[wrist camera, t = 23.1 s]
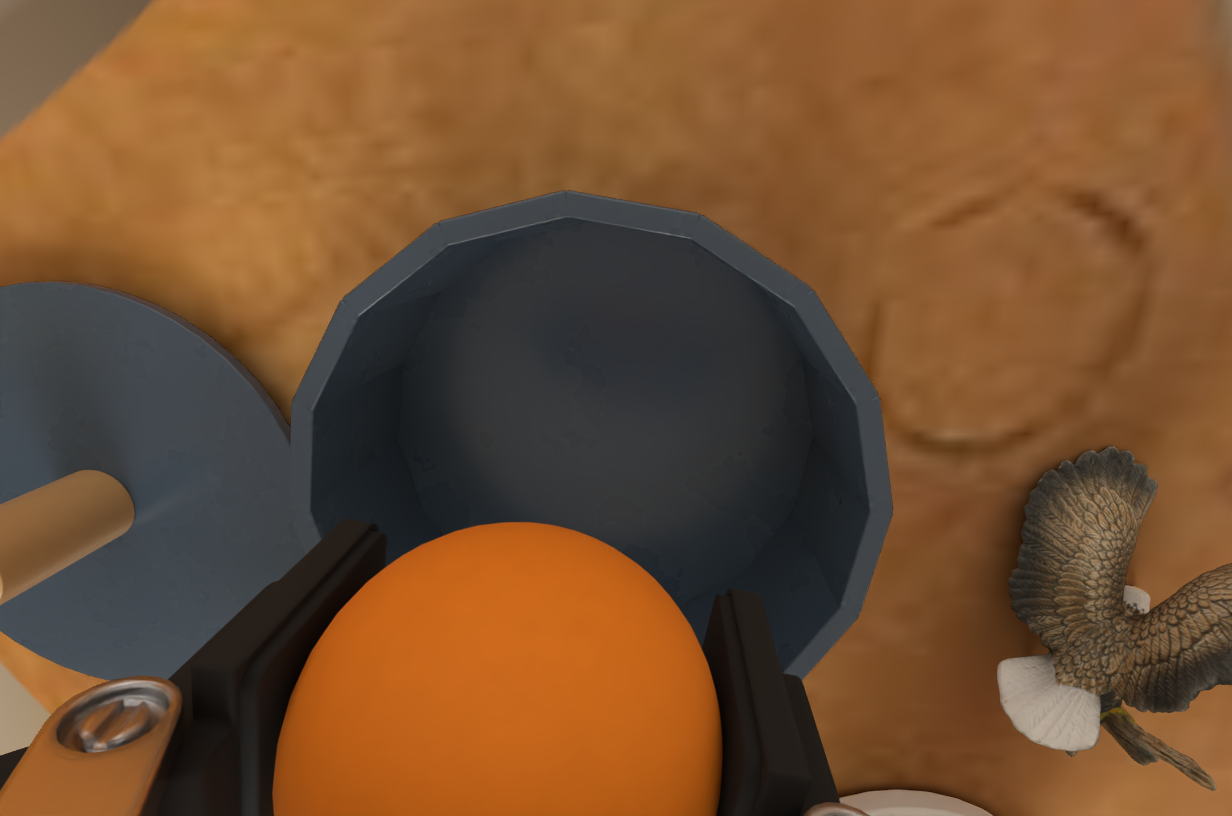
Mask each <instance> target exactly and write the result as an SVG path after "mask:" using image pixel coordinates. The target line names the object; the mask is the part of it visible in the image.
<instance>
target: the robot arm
mask: <svg viewBox="0 0 1232 816" xmlns="http://www.w3.org/2000/svg"><path fill="white" fill-rule="evenodd" d="M386 547H387V537H386V534H385V533H380V532H379V529H378V526H377V524H375V523H370V522H364V521H358V520H353V519H343V520H342V521H341V522H339V523H338V524H337V525H336V526H335V527H334V528H333V529H332V530H331V531H330V532H329V533H328V534H327V535H326V536H325V537H324V538H323V539H322V540H321V541H320V542H319V543H318V544H317V545H316V546H314V547H313V548H312V549H311V550H310V551H309V552H308V553H307V554H306V555H305V556H304V557H303V558H302V559H301V560H300V561H299V562H298V563H297V564H296V565H295V566H294V567H293V568H292V569H291V570H289V571H288V572H287V573H286V574H285V575H284V576H283V577H282V578H281V579H280V580H279V581H275V582H272V583H270V584H269V585H268V586H266V587H265V588H264V589H263V590H262V591H261V592H260V593H259V594H258V595H257V596H256V597H255V598H253V599H252V600H251V601H250V602H249V603H248V604H247V605H246V606H245V607H244V608H243V609H242V610H241V611H240V612H239V613H238V614H236V615H235V616H234V617H233V618H232V619H231V620H230V621H229V622H228V623H227V624H226V625H225V626H224V627H223V628H222V629H221V630H220V631H218V632H217V633H216V634H215V635H214V636H213V637H212V638H211V639H210V640H209V641H208V642H207V643H206V644H205V645H204V646H203V647H202V648H200V649H199V650H198V651H197V652H196V653H195V654H194V655H193V656H192V657H191V658H190V659H189V660H188V661H187V662H186V663H185V664H183V665H182V666H181V667H180V668H179V669H178V670H177V671H176V672H175V673H174V674H173V675H172V676H171V677H170V678H169V679H168V680H166V679H163V678H159V677H156V676H132V677H126V678H120V679H115V680H112V681H109V682H105V683H102V684H99V685H96V686H94V687H92V688H90V689H88V690H85V691H83V692H81V693H79V694H77V695H75V696H74V697H72V698H71V699H70V700H68V701H67V702H65V703H64V704H63V705H61V706H60V707H59V708H57V709H56V710H55V712H54V713H53V714H52V715H51V716H50V717H49V718H48V719H47V721H46V722H45V723H44V725H43V726H42V728H41V729H40V731H39V732H38V734H37V735H36V737H35V738H34V740H33V741H32V743H31V744H30V746H29V747H25V748H22V749H19V750H16V751H13V752H10V753H7V754H4V755H1V756H0V816H274V809H273V795H272V792H273V781H274V770H275V761H276V751H277V743H278V739H279V736H280V732H281V728H282V724H283V721H284V717H285V714H286V710H287V706H288V703H289V699H290V696H291V694H292V692H293V689H294V687H295V685H296V683H297V681H298V679H299V676H300V674H301V672H302V670H303V668H304V666H305V663H306V661H307V659H308V657H309V655H310V653H311V651H312V650H313V648H314V647H315V645H316V644H317V642H318V641H319V639H320V638H321V636H322V635H323V633H324V632H325V630H326V629H327V627H328V626H329V624H330V623H331V622H332V620H333V619H334V617H335V616H336V614H337V613H338V612H339V611H340V610H341V609H342V608H343V607H344V606H345V605H346V603H347V602H348V601H349V600H350V599H351V598H352V597H353V596H354V595H355V594H356V593H357V592H358V591H359V590H360V589H361V588H362V587H363V586H364V585H365V584H366V583H367V582H368V581H369V580H370V579H371V578H373V577H374V576H375V575H376V574H378V573H379V572H380V571H382V570H383V569H384V568H385V562H386ZM702 651H703V653H704V656H705V658H706V660H707V662H708V666H709V669H710V672H711V675H712V679H713V682H714V685H715V690H716V695H717V699H718V704H719V710H720V717H721V724H722V738H723V767H722V781H721V791H720V799H719V804H718V809H717V815H716V816H993V815H992V814H990V813H988V812H987V811H985V810H984V809H982V808H979V807H977V806H974V805H972V804H970V803H967V802H965V801H962V800H960V799H957V798H953V797H949V796H944V795H940V794H936V793H931V792H925V791H912V790H899V789H896V790H882V791H868V792H864V793H859V794H855V795H850V796H846V797H841V798H839V796H838V793H837V790H836V787H835V784H834V780H833V777H832V774H831V771H830V768H829V765H828V761H827V758H826V755H825V752H824V749H823V746H822V742H821V739H820V736H819V733H818V730H817V727H816V723H815V720H814V717H813V714H812V711H811V708H810V704H809V701H808V698H807V695H806V692H805V689H804V685H803V683H802V681H801V679H800V678H799V677H798V676H796V675H790V674H785V673H782V670H781V666H780V663H779V659H778V656H777V652H776V648H775V645H774V641H773V638H772V634H771V630H770V627H769V623H768V620H767V616H766V612H765V609H764V605H763V602H762V598H761V595H760V594H759V593H754V592H749V591H743V590H738V589H732V588H729V589H728V590H727V592H726V595H721V594H717V595H716V596H715V599H714V602H713V606H712V610H711V614H710V618H709V622H708V626H707V630H706V634H705V638H704V642H703V646H702Z"/></svg>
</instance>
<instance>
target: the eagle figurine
mask: <svg viewBox="0 0 1232 816" xmlns="http://www.w3.org/2000/svg"><path fill="white" fill-rule="evenodd" d="M1157 488H1158V484H1157V482H1156V481H1155V480H1154V479H1150V478H1149V477H1148V473H1147V467H1146V466H1145V465H1144V464H1136V463H1135V464H1134V455H1133V453H1132V452H1130V451H1128V450H1124V451H1121V452H1119V451H1118V449H1117V448H1116V447H1114V446H1110V447H1106V448H1105V449H1104V450H1102V451H1101V452H1100V453H1098V454H1097V453H1096V452H1095V451H1093V450H1091V451H1087V452H1085V453H1083V454H1082V455H1081V456H1080V457H1079V458H1078V459H1077V461H1076V464H1075V465H1073V464H1072V463H1071V462H1070V461H1068V460H1066V461H1063V462H1061V464H1060V467H1059V468H1058V470H1057V471H1055V470H1049V471H1047V472H1046V473H1045V474H1044V476H1043V477H1042V478H1041V479H1040V480H1039V481H1038V483H1037V488H1035V489H1034V490H1033V491H1031V492H1030V495H1029V503H1028V504H1026V505H1025V507H1024V514H1025V516H1026V521H1025V522H1024V524H1023V529H1022V530H1021V537H1022V540H1023V541H1024V544H1022V545H1021V546H1020V549H1019V551H1020V554H1019V556H1018V557H1017V565H1018V568H1017V569H1014V570H1012V577H1011V578H1009V579H1008V584H1009V595H1010V597H1011V599H1012V602H1011V609H1012V610H1013V611H1014V612H1016V616H1017V618H1018V620H1020V621H1022V622H1025V623H1026V624H1027V625H1028V627H1029V629H1030V631H1031V632H1032V633H1034V634H1036V635H1039V636H1040V637H1041V644H1042V645H1043V646H1045V647H1047V648H1048V649H1049V650H1050V651H1049V653H1048V654H1045V655H1034V656H1027V657H1019V658H1009V659H1006V660H1003V661H1001V662H1000V663H999V665H998V668H997V669H998V671H997V682H998V686H999V692H1000V704H1001V707H1002V709H1003V710H1004V712H1005V713H1006V714H1007V715H1008V716H1009V718H1010V720H1011V722H1012V724H1013V725H1014V727H1015V729H1016V730H1017V731H1019V732H1020V733H1022V734H1024V735H1025V736H1026V737H1027V738H1028V739H1029V740H1031V741H1032V742H1034V743H1037V744H1040V745H1043V746H1047V747H1050V748H1052V749H1057V750H1065V751H1066V753H1067V754H1068V755H1069V756H1071V757H1072V756H1075V755H1076V753H1077V751H1080V750H1088V749H1091V748H1093V747H1094V746H1095V745H1096V744H1097V742H1098V740H1099V734H1100V730H1099V728H1100V724H1101V725H1102V726H1103V727H1104V728H1105V729H1106V730H1107V731H1108V732H1109V733H1110V734H1111V735H1112V736H1113V737H1114V739H1115V740H1116V741H1117V742H1118V743H1119V744H1120V745H1121V746H1122V748H1123V749H1124V750H1125V751H1126V752H1127V753H1128V754H1129V755H1130V756H1131V758H1132V759H1134V760H1135V761H1136V762H1137V763H1139V764H1142V765H1148V764H1149V763H1151V762H1158V759H1159V758H1160V759H1162V760H1164V761H1166V762H1167V763H1169V764H1171V765H1173V766H1174V767H1176V768H1177V769H1179V770H1180V771H1181V772H1182V773H1184V774H1185V775H1186V776H1188V777H1189V778H1190V779H1192V780H1193V781H1195V782H1197V783H1198V784H1200V785H1201V786H1203V787H1205V788H1207V789H1209V790H1211V791H1214V790H1215V789H1216V784H1215V782H1214V781H1213V779H1212V778H1211V777H1210V775H1209V774H1208V773H1206V772H1205V771H1204V770H1203V769H1202V768H1201V767H1200V766H1199V765H1198V764H1197V763H1196V762H1195V761H1194V760H1193V759H1191V758H1189V757H1188V756H1186V755H1184V754H1181V753H1179V752H1178V751H1176V750H1174V749H1173V748H1171V747H1169V746H1168V745H1166V744H1165V743H1164V742H1162V741H1161V740H1160V739H1157V738H1156V737H1154V736H1152V735H1151V734H1149V733H1146V732H1145V731H1144V730H1143V729H1142V728H1141V727H1139V726H1138V725H1137V723H1136V722H1135V720H1134V719H1133V718H1132V716H1130V715H1129V714H1128V712H1127V711H1126V710H1125V709H1124V708H1123V707H1122V706H1121V703H1122V699H1123V700H1124V701H1125V703H1126V705H1128V706H1130V707H1135V708H1136V709H1137V710H1139V711H1140V712H1146V711H1147V709H1148V710H1149V711H1151V712H1152V713H1156V712H1161V713H1163V712H1167V713H1171V712H1174V711H1177V712H1182V711H1186V710H1187V709H1188V708H1189V702H1190V701H1192V700H1194V699H1195V698H1196V697H1197V696H1198V694H1199V693H1200V691H1203V690H1210V689H1212V688H1213V687H1214V686H1216V685H1219V684H1220V685H1232V563H1230V564H1226V565H1224V566H1221V567H1219V568H1217V569H1215V570H1212V571H1208V572H1205V573H1203V574H1201V575H1200V576H1198V577H1197V578H1195V579H1194V580H1192V581H1190V582H1189V583H1187V584H1186V585H1184V586H1183V587H1182V588H1180V589H1179V590H1178V591H1177V592H1176V593H1175V594H1173V595H1172V596H1171V597H1169V598H1168V599H1166V600H1165V601H1164V602H1162V603H1160V604H1159V605H1157V606H1156V607H1154V608H1153V609H1151V610H1150V611H1149V604H1150V597H1149V595H1148V594H1147V593H1146V592H1145V591H1143V590H1141V589H1140V588H1139V587H1137V586H1129V585H1125V584H1126V575H1127V570H1128V566H1129V563H1130V560H1131V557H1132V554H1133V551H1134V548H1135V545H1136V540H1137V535H1138V531H1139V529H1140V526H1141V523H1142V520H1143V519H1144V517H1145V515H1146V512H1147V510H1148V507H1149V506H1150V504H1151V502H1152V501H1153V498H1154V496H1155V494H1156V490H1157Z"/></svg>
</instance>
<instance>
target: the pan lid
mask: <svg viewBox="0 0 1232 816" xmlns="http://www.w3.org/2000/svg"><path fill="white" fill-rule="evenodd" d="M290 447H291V428H290V427H289V425H288V423H287V422H286V420H285V418H284V417H283V415H282V413H281V412H280V410H279V408H278V407H277V405H276V404H275V403H274V401H273V400H272V399H271V397H270V396H269V395H268V393H267V392H266V391H265V390H264V388H263V387H262V386H261V384H260V383H259V382H258V381H257V379H256V378H255V377H254V376H253V375H252V374H251V373H250V372H249V371H248V370H247V369H246V368H245V367H244V366H243V365H242V364H241V363H240V362H239V361H238V360H237V359H236V358H235V357H234V356H233V355H232V354H231V353H229V352H228V351H227V350H226V349H225V348H223V347H222V346H221V345H220V344H219V343H218V342H216V341H215V340H214V339H213V338H212V337H210V336H209V335H207V334H206V333H204V332H203V331H201V330H200V329H198V328H197V327H195V326H194V325H192V324H191V323H189V322H188V321H186V320H185V319H183V318H181V317H180V316H178V315H176V314H174V313H172V312H170V311H168V310H166V309H164V308H162V307H160V306H158V305H156V304H154V303H152V302H149V301H147V300H144V299H141V298H139V297H136V296H133V295H131V294H128V293H125V292H122V291H118V290H114V289H110V288H106V287H102V286H98V285H94V284H86V283H77V282H68V281H41V282H25V283H19V284H13V285H8V286H2V287H0V631H1V632H3V633H4V634H5V635H7V636H8V637H10V638H11V639H12V640H14V641H15V642H17V643H19V644H20V645H22V646H24V647H26V648H27V649H29V650H31V651H32V652H34V653H36V654H38V655H39V656H42V657H44V658H46V659H48V660H50V661H52V662H55V663H57V664H59V665H61V666H63V667H66V668H69V669H72V670H74V671H77V672H80V673H83V674H86V675H89V676H93V677H97V678H101V679H105V680H109V681H112V680H115V679H120V678H126V677H132V676H156V677H159V678H163V679H166V680H168V679H169V678H170V677H171V676H172V675H173V674H174V673H175V672H176V671H177V670H178V669H179V668H180V667H181V666H182V665H183V664H185V663H186V662H187V661H188V660H189V659H190V658H191V657H192V656H193V655H194V654H195V653H196V652H197V651H198V650H199V649H200V648H202V647H203V646H204V645H205V644H206V643H207V642H208V641H209V640H210V639H211V638H212V637H213V636H214V635H215V634H216V633H217V632H218V631H220V630H221V629H222V628H223V627H224V626H225V625H226V624H227V623H228V622H229V621H230V620H231V619H232V618H233V617H234V616H235V615H236V614H238V613H239V612H240V611H241V610H242V609H243V608H244V607H245V606H246V605H247V604H248V603H249V602H250V601H251V600H252V599H253V598H255V597H256V596H257V595H258V594H259V593H260V592H261V591H262V590H263V589H264V588H265V587H266V586H268V585H269V584H270V583H272V582H275V581H279V580H280V579H281V578H282V577H283V576H284V575H285V574H286V573H287V572H288V571H289V570H291V569H292V568H293V567H294V566H295V565H296V564H297V563H298V562H299V561H300V560H301V559H302V558H303V557H304V556H305V555H306V551H305V549H304V546H303V544H302V541H301V539H300V536H299V534H298V531H297V529H296V526H295V524H294V521H293V519H292V516H291V514H290V511H291V510H290V509H289V502H290Z"/></svg>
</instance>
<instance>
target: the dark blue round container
mask: <svg viewBox="0 0 1232 816" xmlns="http://www.w3.org/2000/svg"><path fill="white" fill-rule="evenodd" d="M289 509H290V510H291V511H290V514H291V516H292V519H293V521H294V524H295V526H296V529H297V531H298V534H299V536H300V539H301V541H302V544H303V546H304V549H305V551H306V554H307V553H308V552H309V551H310V550H311V549H312V548H313V547H314V546H316V545H317V544H318V543H319V542H320V541H321V540H322V539H323V538H324V537H325V536H326V535H327V534H328V533H329V532H330V531H331V530H332V529H333V528H334V527H335V526H336V525H337V524H338V523H339V522H341V521H342V520H343V519H353V520H358V521H364V522H370V523H375V524H377V526H378V529H379V532H380V533H385V534H386V537H387V547H386V562H385V568H386V567H387V566H388V565H390V564H391V563H392V562H394V561H395V560H397V559H398V558H400V557H401V556H403V555H404V554H406V553H408V552H410V551H411V550H413V549H415V548H417V547H419V546H420V545H422V544H425V543H427V542H430V541H432V540H434V539H437V538H439V537H442V536H444V535H447V534H450V533H452V532H455V531H458V530H462V529H466V528H470V527H474V526H478V525H486V524H494V523H503V522H533V523H541V524H549V525H555V526H559V527H563V528H567V529H571V530H575V531H578V532H580V533H583V534H586V535H588V536H591V537H594V538H596V539H598V540H600V541H602V542H604V543H606V544H608V545H610V546H612V547H613V548H615V549H616V550H618V551H619V552H621V553H622V554H624V555H625V556H627V557H628V558H630V559H631V560H633V561H634V562H636V563H637V564H638V565H640V566H641V567H642V568H643V569H644V570H645V571H646V572H648V573H649V574H650V575H651V576H652V577H653V578H654V579H655V580H656V581H657V582H658V583H659V584H660V585H661V586H662V587H663V589H664V590H665V591H666V592H667V593H668V594H669V595H670V597H671V598H672V599H673V601H674V602H675V603H676V605H677V606H678V608H679V609H680V611H681V612H682V614H683V615H684V617H685V618H686V620H687V621H688V623H689V624H690V626H691V627H692V630H693V632H694V634H695V636H696V638H697V640H698V642H699V644H700V646H701V649H702V646H703V642H704V638H705V634H706V630H707V626H708V622H709V618H710V614H711V610H712V606H713V602H714V599H715V596H716V595H717V594H721V595H726V592H727V590H728V589H729V588H732V589H738V590H743V591H749V592H754V593H759V594H760V595H761V598H762V602H763V605H764V609H765V612H766V616H767V620H768V623H769V627H770V630H771V634H772V638H773V641H774V645H775V648H776V652H777V656H778V659H779V663H780V666H781V670H782V673H785V674H790V675H796V676H798V677H799V678H800V679H801V681H802V680H803V679H804V678H805V677H806V676H807V674H808V673H809V672H810V671H811V670H812V669H813V668H814V667H815V666H816V664H817V663H818V662H819V661H820V660H821V659H822V658H823V657H824V655H825V654H826V653H827V652H828V651H829V650H830V649H831V648H832V646H833V645H834V644H835V643H836V642H837V641H838V640H839V639H840V637H841V636H842V635H843V634H844V633H845V632H846V631H847V630H848V629H849V627H850V626H851V625H852V624H853V623H854V622H855V621H856V620H857V618H858V615H860V612H861V609H862V606H863V603H864V600H865V597H866V594H867V591H868V588H869V585H870V582H871V579H872V576H873V573H874V570H875V567H876V564H877V561H878V558H879V555H880V552H881V549H882V546H883V542H884V539H885V536H886V533H887V530H888V527H889V524H890V521H891V518H892V515H893V512H892V511H893V502H892V494H891V486H890V477H889V469H888V461H887V452H886V444H885V436H884V427H883V419H882V410H881V402H880V398H879V396H878V392H877V390H876V389H875V387H874V386H873V384H872V382H871V381H870V379H869V378H868V376H867V374H866V373H865V371H864V370H863V368H862V366H861V365H860V363H859V361H858V360H857V358H856V357H855V355H854V353H853V352H852V350H851V349H850V347H849V345H848V344H847V342H846V341H845V339H844V337H843V336H842V334H841V333H840V331H839V329H838V328H837V326H836V325H835V323H834V321H833V320H832V318H831V317H830V315H829V313H828V312H827V310H826V309H825V307H824V305H823V304H822V302H821V301H820V299H819V297H818V296H817V294H816V292H815V291H814V290H812V289H811V287H810V286H809V285H807V284H806V283H804V282H803V281H801V280H800V279H798V278H797V277H795V276H794V275H792V274H791V273H789V272H788V271H786V270H785V269H783V268H782V267H780V266H779V265H777V264H776V263H774V262H773V261H771V260H770V259H768V258H767V257H765V256H764V255H762V254H761V253H759V252H758V251H756V250H755V249H753V248H752V247H750V246H749V245H747V244H746V243H744V242H743V241H741V240H740V239H738V238H737V237H735V236H734V235H732V234H731V233H729V232H728V231H726V230H725V229H723V228H722V227H720V226H719V225H717V224H716V223H714V222H713V221H711V220H710V219H708V218H707V217H705V216H704V215H700V214H699V213H696V212H690V211H684V210H679V209H673V208H667V207H661V206H656V205H650V204H644V203H639V202H633V201H627V200H622V199H616V198H610V197H605V196H599V195H593V194H588V193H582V192H576V191H571V190H568V191H563V190H562V191H558V192H554V193H550V194H546V195H542V196H538V197H534V198H530V199H526V200H522V201H518V202H514V203H510V204H506V205H502V206H498V207H494V208H490V209H486V210H482V211H478V212H474V213H470V214H466V215H462V216H458V217H454V218H450V219H446V220H442V221H439V222H438V223H435V224H434V225H432V226H431V227H430V228H429V229H427V230H426V231H425V232H424V233H423V234H421V235H420V236H419V237H418V238H416V239H415V240H414V241H413V242H411V243H410V244H409V245H408V246H406V247H405V248H404V249H403V250H401V251H400V252H399V253H398V254H396V255H395V256H394V257H393V258H391V259H390V260H389V261H388V262H386V263H385V264H384V265H383V266H381V267H380V268H379V269H378V270H376V271H375V272H374V273H373V274H372V275H370V276H369V277H368V278H367V279H365V280H364V281H363V282H362V283H360V284H359V285H358V286H357V287H355V288H354V289H353V290H352V291H350V292H349V293H348V294H347V295H345V296H344V297H343V299H342V300H341V301H340V303H339V305H338V307H337V309H336V311H335V313H334V315H333V317H332V319H331V321H330V323H329V325H328V327H327V329H326V332H325V334H324V336H323V338H322V340H321V342H320V344H319V346H318V348H317V350H316V352H315V354H314V356H313V358H312V360H311V363H310V365H309V367H308V369H307V371H306V373H305V375H304V377H303V379H302V381H301V383H300V385H299V387H298V389H297V392H296V394H295V396H294V398H293V400H292V404H291V447H290V502H289Z"/></svg>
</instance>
